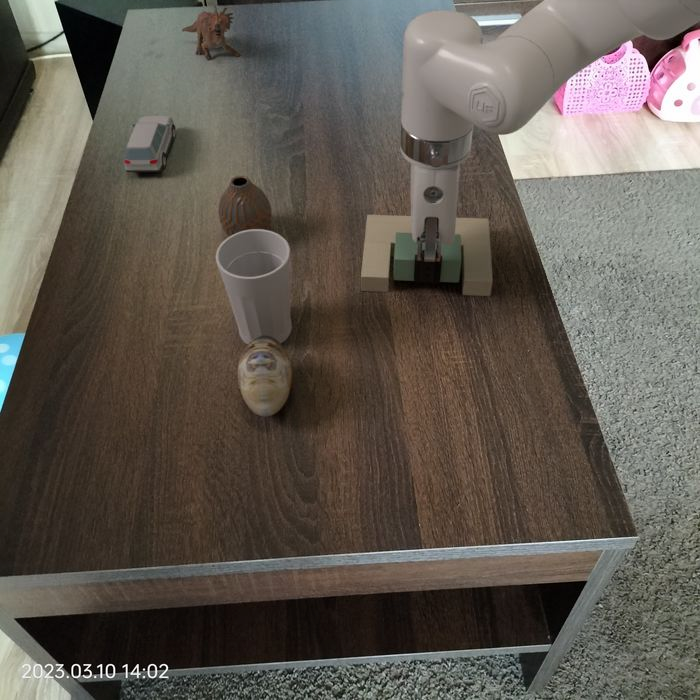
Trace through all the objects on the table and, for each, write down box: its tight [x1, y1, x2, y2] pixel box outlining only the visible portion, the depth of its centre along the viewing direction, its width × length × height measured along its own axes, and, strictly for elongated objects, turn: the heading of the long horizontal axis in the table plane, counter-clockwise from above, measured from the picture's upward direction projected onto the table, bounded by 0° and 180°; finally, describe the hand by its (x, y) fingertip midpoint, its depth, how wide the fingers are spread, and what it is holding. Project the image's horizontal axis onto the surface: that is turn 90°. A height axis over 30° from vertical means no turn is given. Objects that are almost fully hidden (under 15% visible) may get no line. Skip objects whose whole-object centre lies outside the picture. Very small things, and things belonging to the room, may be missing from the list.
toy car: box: [123, 114, 176, 173], centre depth 110 cm, size 6×13×5 cm, turn 178°
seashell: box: [237, 335, 293, 418], centre depth 77 cm, size 10×6×8 cm, turn 4°
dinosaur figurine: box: [181, 5, 241, 61], centre depth 129 cm, size 14×6×9 cm, turn 42°
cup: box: [215, 229, 293, 345], centre depth 83 cm, size 8×8×12 cm
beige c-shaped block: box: [360, 214, 494, 297], centre depth 93 cm, size 16×12×2 cm
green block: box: [393, 232, 462, 283], centre depth 90 cm, size 8×5×4 cm, turn 85°
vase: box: [218, 175, 273, 237], centre depth 95 cm, size 7×7×9 cm
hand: (427, 263), depth 90 cm, fingers closed on green block, 4 cm apart
